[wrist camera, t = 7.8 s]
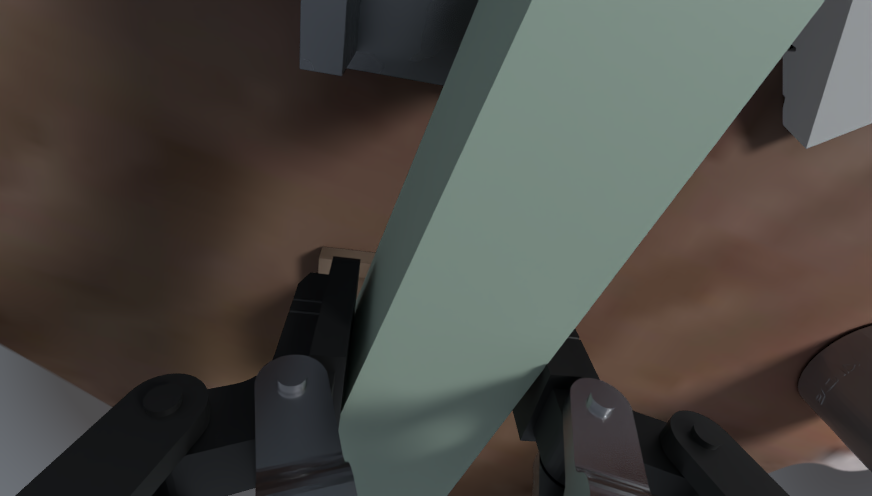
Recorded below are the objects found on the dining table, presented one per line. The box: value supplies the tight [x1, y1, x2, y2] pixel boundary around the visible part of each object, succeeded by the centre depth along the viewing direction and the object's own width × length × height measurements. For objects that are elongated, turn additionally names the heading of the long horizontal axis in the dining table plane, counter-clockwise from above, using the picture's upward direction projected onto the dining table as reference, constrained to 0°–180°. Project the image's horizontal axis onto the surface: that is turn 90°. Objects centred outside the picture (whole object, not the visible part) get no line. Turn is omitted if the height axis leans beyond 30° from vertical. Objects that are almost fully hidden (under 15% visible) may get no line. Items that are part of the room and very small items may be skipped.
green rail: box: [338, 0, 825, 496], centre depth 11 cm, size 4×24×4 cm, turn 157°
